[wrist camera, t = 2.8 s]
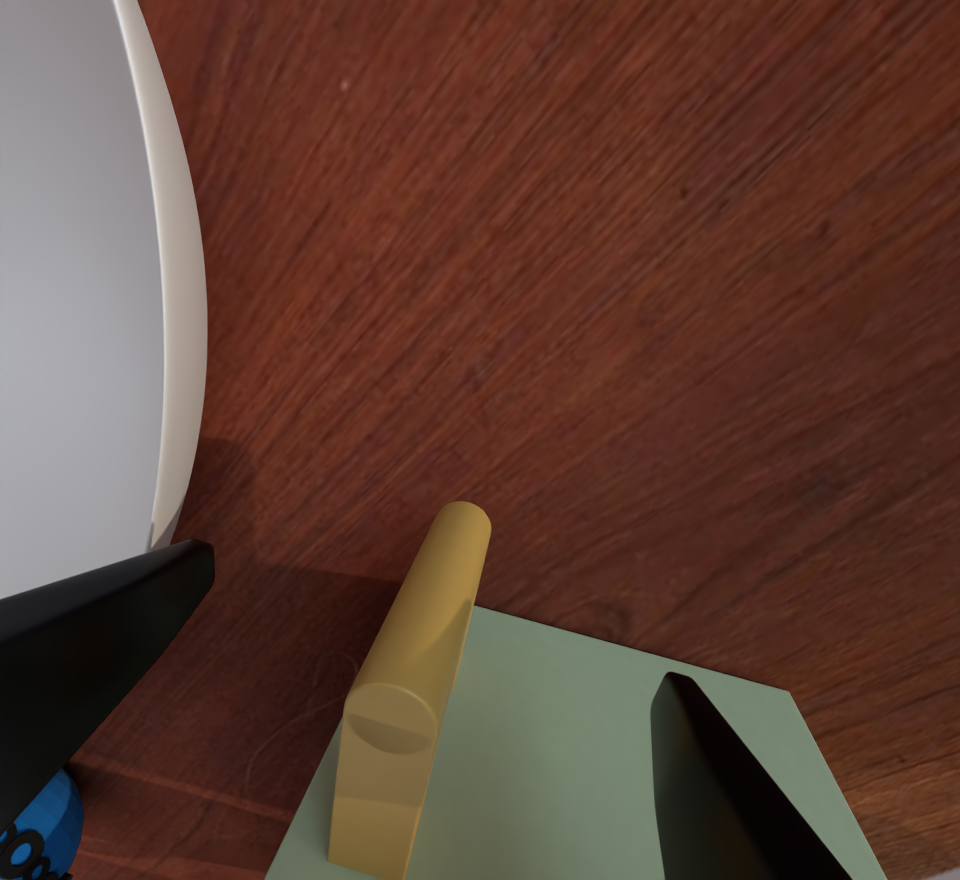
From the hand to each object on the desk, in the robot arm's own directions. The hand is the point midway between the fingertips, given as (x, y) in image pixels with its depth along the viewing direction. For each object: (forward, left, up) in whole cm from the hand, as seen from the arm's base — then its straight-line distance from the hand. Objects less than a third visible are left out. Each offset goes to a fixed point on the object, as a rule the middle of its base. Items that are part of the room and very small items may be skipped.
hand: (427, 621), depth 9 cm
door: (-5, +3, -6) cm, 9 cm away
